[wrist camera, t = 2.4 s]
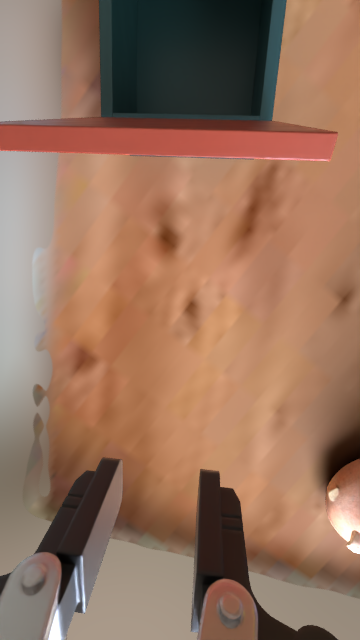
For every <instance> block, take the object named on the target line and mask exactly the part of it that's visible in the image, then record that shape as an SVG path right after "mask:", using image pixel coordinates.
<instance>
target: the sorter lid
mask: <svg viewBox="0 0 360 640" xmlns="http://www.w3.org/2000/svg"><path fill="white" fill-rule="evenodd" d="M337 136H338V133H337V132H333V131H328V130H322V129H316V128H311V127H305V126H299V125H294V124H288V123H282V122H276V121H258V120H211V119H165V118H118V117H90V118H68V119H47V120H25V121H5V122H0V151H29V152H30V151H32V152H60V153H91V154H123V155H154V156H185V157H217V158H248V159H279V160H311V161H330V160H331V157H332V154H333V150H334V147H335V143H336V140H337Z"/></svg>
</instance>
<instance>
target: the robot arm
mask: <svg viewBox="0 0 360 640" xmlns="http://www.w3.org/2000/svg"><path fill="white" fill-rule="evenodd" d="M122 494H123V461H122V459H113V458H105V457H103V458H102V459H101V461H100V463H99V465H98V467H97V469H96V471H86V472H84V473H83V474H82V475H81V476H80V477H79V478H78V479H77V480H76V481H75V482H74V484H73V486H72V488H71V489H70V491H69V493H68V496H67V497H66V498H65V500H64V502H63V504H62V507H60V509H59V511H58V513H57V515H56V516H55V518H54V520H53V522H52V524H51V525H50V527H49V529H48V531H47V533H46V534H45V536H44V538H43V540H42V542H41V543H40V545H39V547H38V549H37V551H36V552H35V553H34V555H31V556H29V557H28V558H26V559H24V560H23V561H22V562H21V563H19V564H18V565H17V566H16V568H15V569H14V570H13V571H12V572H11V573H9V574H7V575H3V576H0V640H67V631H68V628H69V625H70V622H71V620H72V617H73V614H74V612H78V613H85V611H86V608H87V605H88V602H89V599H90V596H91V593H92V590H93V587H94V584H95V581H96V578H97V575H98V572H99V569H100V566H101V563H102V560H103V557H104V554H105V551H106V548H107V545H108V542H109V539H110V536H111V533H112V530H113V527H114V524H115V521H116V518H117V515H118V512H119V509H120V505H121V501H122ZM193 578H194V579H193V598H192V619H191V631H192V632H198V637H197V640H338V639H337V638H335V637H334V636H333V635H332V634H331V633H329V632H328V631H326V630H325V629H323V628H320V627H318V626H313V625H307V626H303V627H302V628H300V629H299V630H298V631H295V630H294V629H292V628H290V627H288V626H286V625H284V624H283V623H281V622H279V621H278V620H276V619H274V618H273V617H271V616H270V615H269V614H267V612H265V611H264V609H263V608H262V607H261V606H260V605H259V603H258V602H257V600H256V598H255V597H254V595H253V592H252V590H251V587H250V582H249V575H248V566H247V557H246V549H245V540H244V532H243V523H242V514H241V506H240V501H239V499H238V497H237V495H236V493H235V492H234V490H233V489H232V488H224V487H220V474H219V471H213V470H205V469H200V477H199V489H198V500H197V515H196V535H195V556H194V577H193Z"/></svg>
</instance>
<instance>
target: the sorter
mask: <svg viewBox="0 0 360 640" xmlns="http://www.w3.org/2000/svg"><path fill="white" fill-rule="evenodd" d="M286 1H287V0H99V22H100V74H101V117H118V118H165V119H211V120H258V121H272V116H273V108H274V99H275V91H276V83H277V75H278V66H279V58H280V50H281V42H282V34H283V25H284V17H285V9H286ZM130 156H154V155H130ZM160 157H185V156H160ZM191 158H217V157H191ZM222 159H248V158H222Z"/></svg>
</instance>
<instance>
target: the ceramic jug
mask: <svg viewBox="0 0 360 640" xmlns="http://www.w3.org/2000/svg"><path fill="white" fill-rule="evenodd" d="M326 510H327V514H328V517H329V520H330V522H331V524H332V525H333V527H334V528H335V530H336V531H337V532H338V533H339V534H340V535H341V536H342V537H343V538H344V539H345V540H346V541H348V543H347V547H348V548H349V549H350V550H352V551H353V552H355V553H358V554H360V459H357V460H355V461H353V462H351V463H349V464H347V465H346V466H344V467H343V468H342V469H340V470H339V471H338V472H337V473H336V474H335V476H334V477H333V478H332V480H331V481H330V483H329V484H328V486H327V492H326Z"/></svg>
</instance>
